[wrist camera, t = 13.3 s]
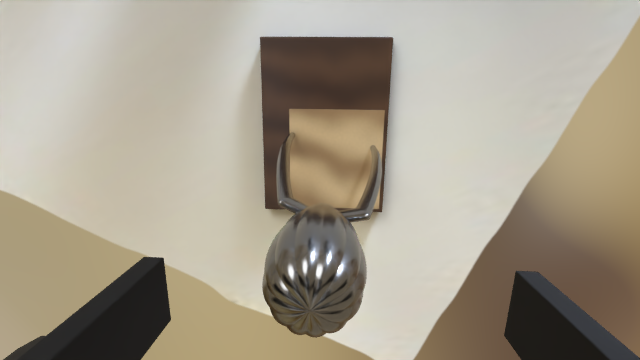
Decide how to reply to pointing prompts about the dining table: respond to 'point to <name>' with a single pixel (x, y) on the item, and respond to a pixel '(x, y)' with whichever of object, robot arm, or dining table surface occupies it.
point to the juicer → (317, 257)
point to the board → (325, 115)
